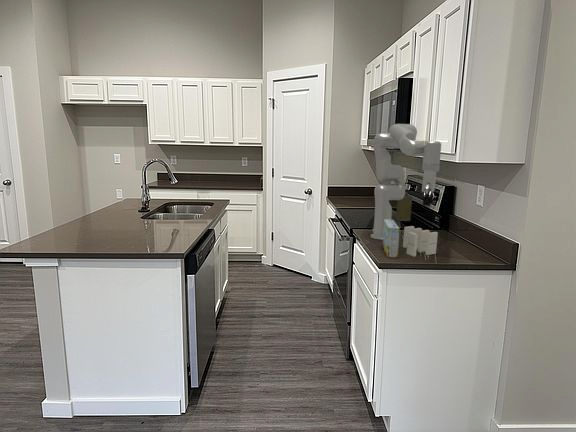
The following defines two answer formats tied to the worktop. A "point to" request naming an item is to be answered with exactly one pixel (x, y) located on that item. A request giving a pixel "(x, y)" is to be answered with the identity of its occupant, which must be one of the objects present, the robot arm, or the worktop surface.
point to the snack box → (390, 238)
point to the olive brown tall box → (404, 208)
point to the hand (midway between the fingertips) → (427, 204)
